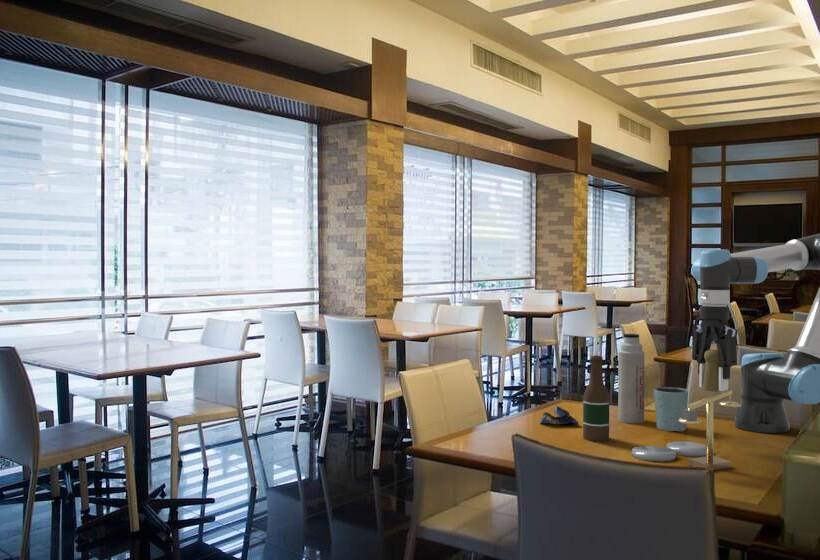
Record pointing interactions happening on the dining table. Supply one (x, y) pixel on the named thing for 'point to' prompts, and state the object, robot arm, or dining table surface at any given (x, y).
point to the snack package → (561, 419)
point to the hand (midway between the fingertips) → (713, 388)
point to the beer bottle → (596, 405)
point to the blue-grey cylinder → (670, 407)
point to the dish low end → (653, 453)
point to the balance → (708, 429)
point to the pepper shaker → (711, 371)
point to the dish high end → (687, 448)
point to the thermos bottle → (631, 380)
